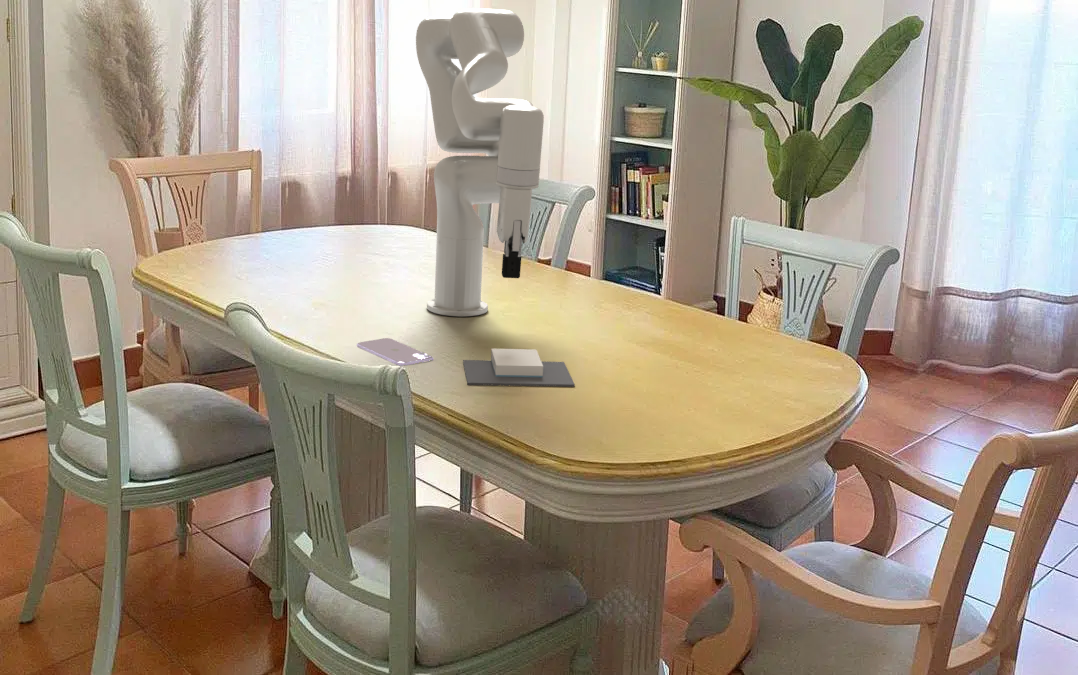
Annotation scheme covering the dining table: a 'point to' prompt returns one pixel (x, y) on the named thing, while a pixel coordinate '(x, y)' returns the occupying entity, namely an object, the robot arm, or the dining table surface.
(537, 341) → the dining table surface
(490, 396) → the dining table surface
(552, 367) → the mat
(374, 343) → the mobile phone
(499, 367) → the tile
